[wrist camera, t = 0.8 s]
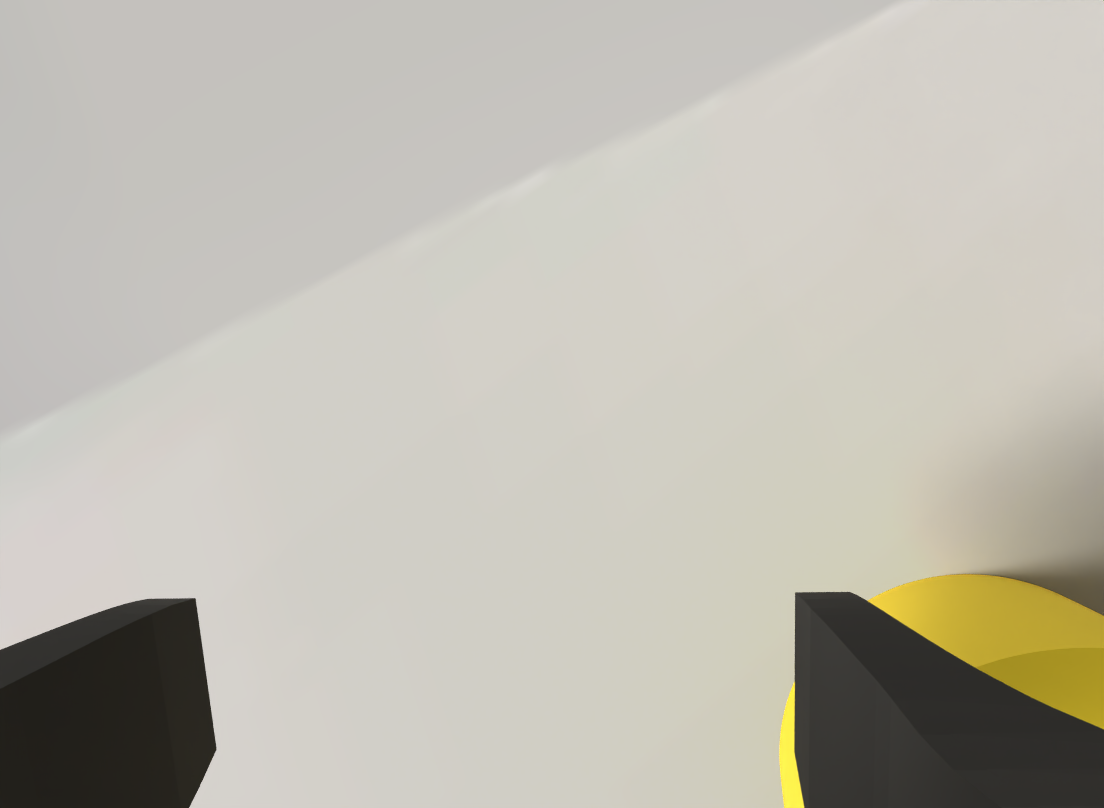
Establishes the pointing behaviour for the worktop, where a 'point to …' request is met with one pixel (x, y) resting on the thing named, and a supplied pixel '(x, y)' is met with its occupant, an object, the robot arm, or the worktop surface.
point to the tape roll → (994, 645)
